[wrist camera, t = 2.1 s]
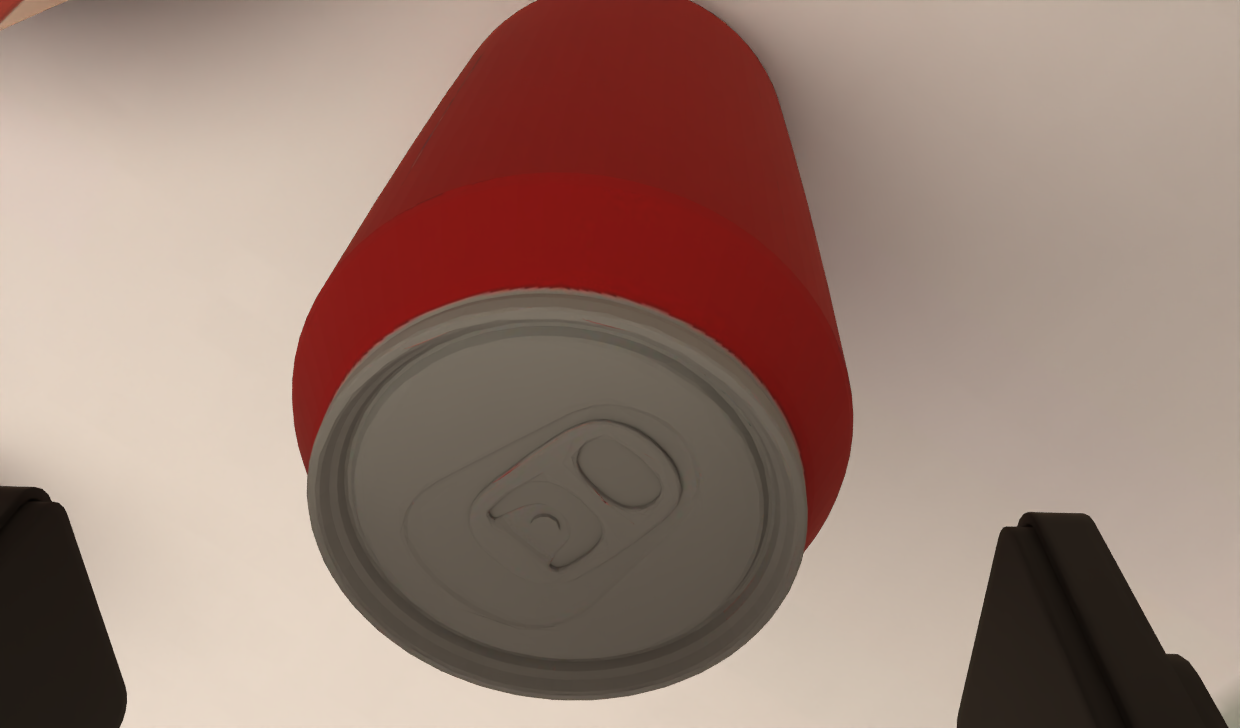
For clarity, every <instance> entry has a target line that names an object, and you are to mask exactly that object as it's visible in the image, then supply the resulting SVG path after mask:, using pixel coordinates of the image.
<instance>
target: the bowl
mask: <svg viewBox="0 0 1240 728" xmlns="http://www.w3.org/2000/svg"><path fill="white" fill-rule="evenodd" d="M65 1H68V0H0V30H3V29H5V28H7V27H9V26H12V25H14V24H16V23H18V22H21V21H23V20H25V19H27V18H30V17H32V16H34V15H36V14H39V13H41V12H43V11H45V10H48V9H50V8H52V7H54V6H57V5H59V4H61V3H63V2H65Z"/></svg>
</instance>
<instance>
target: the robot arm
mask: <svg viewBox="0 0 1240 728" xmlns="http://www.w3.org/2000/svg"><path fill="white" fill-rule="evenodd" d="M126 704H127V692H126V687H125V684H124V681H123V678H122V675H121V672H120V669H119V666H118V663H117V660H116V657H115V654H114V651H113V648H112V645H111V642H110V639H109V636H108V633H107V631H106V628H105V625H104V622H103V619H102V616H101V613H100V610H99V607H98V604H97V601H96V598H95V595H94V592H93V589H92V586H91V583H90V580H89V577H88V574H87V571H86V568H85V565H84V562H83V559H82V556H81V554H80V551H79V548H78V545H77V542H76V539H75V536H74V533H73V530H72V527H71V524H70V521H69V518H68V515H67V513H66V511H65V509H64V507H63V506H62V505H61V504H60V503H56V502H52V501H51V499H50V497H49V495H48V494H47V493H46V492H45V491H44V490H43V489H40V488H36V487H12V486H0V728H120V725H121V723H122V721H123V718H124V715H125V711H126ZM957 728H1228V726H1227V724H1226V722H1225V721H1224V719H1223V717H1222V715H1221V714H1220V712H1219V710H1218V708H1217V707H1216V705H1215V703H1214V701H1213V699H1212V698H1211V696H1210V694H1209V692H1208V691H1207V689H1206V687H1205V685H1204V684H1203V682H1202V680H1201V678H1200V677H1199V675H1198V674H1197V672H1196V671H1195V669H1194V668H1193V667H1192V665H1191V664H1190V663H1189V661H1187V660H1186V659H1184V658H1183V657H1181V656H1180V655H1178V654H1166V653H1165V651H1164V650H1163V648H1162V646H1161V644H1160V642H1159V640H1158V638H1157V637H1156V635H1155V633H1154V631H1153V629H1152V627H1151V626H1150V624H1149V622H1148V620H1147V618H1146V616H1145V615H1144V613H1143V611H1142V609H1141V607H1140V605H1139V604H1138V602H1137V600H1136V598H1135V596H1134V594H1133V593H1132V591H1131V589H1130V587H1129V585H1128V583H1127V581H1126V580H1125V578H1124V576H1123V574H1122V572H1121V570H1120V569H1119V567H1118V565H1117V563H1116V561H1115V559H1114V558H1113V556H1112V554H1111V552H1110V550H1109V548H1108V547H1107V545H1106V543H1105V541H1104V539H1103V537H1102V536H1101V534H1100V532H1099V530H1098V528H1097V526H1096V525H1095V523H1094V522H1093V520H1092V519H1091V517H1090V516H1088V515H1086V514H1083V513H1043V512H1027V513H1024V514H1023V516H1022V517H1021V518H1020V520H1019V523H1018V526H1017V527H1004V528H1003V529H1002V530H1001V532H1000V535H999V538H998V542H997V546H996V551H995V555H994V559H993V564H992V568H991V572H990V577H989V581H988V586H987V590H986V594H985V599H984V603H983V607H982V612H981V616H980V620H979V625H978V629H977V634H976V638H975V642H974V647H973V651H972V655H971V660H970V664H969V669H968V673H967V677H966V682H965V686H964V690H963V695H962V699H961V703H960V708H959V712H958V718H957Z"/></svg>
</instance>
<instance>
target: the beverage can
mask: <svg viewBox="0 0 1240 728" xmlns="http://www.w3.org/2000/svg"><path fill="white" fill-rule="evenodd" d="M292 404H293V416H294V427H295V432H296V437H297V442H298V447H299V450H300V453H301V457H302V460H303V463H304V466H305V469H306V472H307V475H308V476H307V500H308V509H309V515H310V521H311V526H312V530H313V533H314V536H315V539H316V542H317V545H318V548H319V550H320V553H321V555H322V558H323V560H324V562H325V564H326V566H327V568H328V569H329V571H330V573H331V575H332V577H333V578H334V580H335V581H336V583H337V584H338V586H339V587H340V589H341V590H342V592H343V593H344V594H345V596H346V597H347V598H348V599H349V601H350V602H351V603H352V605H353V606H354V607H355V608H356V609H357V610H358V611H359V612H360V613H361V614H362V615H363V616H364V617H365V618H366V619H367V620H368V621H369V622H370V623H371V624H372V625H373V626H374V627H375V628H376V629H377V630H378V631H380V632H381V633H382V634H383V635H385V636H386V637H387V638H389V639H390V640H391V641H393V642H394V643H395V644H397V645H398V646H400V647H401V648H402V649H404V650H405V651H406V652H408V653H410V654H411V655H413V656H415V657H417V658H418V659H420V660H422V661H424V662H425V663H427V664H429V665H431V666H433V667H435V668H437V669H439V670H441V671H443V672H445V673H447V674H450V675H452V676H455V677H457V678H460V679H462V680H465V681H468V682H470V683H473V684H476V685H479V686H483V687H486V688H490V689H493V690H497V691H502V692H506V693H510V694H514V695H520V696H527V697H534V698H542V699H551V700H599V699H609V698H617V697H625V696H631V695H635V694H640V693H644V692H648V691H652V690H656V689H660V688H664V687H667V686H669V685H672V684H675V683H678V682H680V681H683V680H685V679H688V678H690V677H692V676H695V675H697V674H699V673H702V672H703V671H705V670H707V669H709V668H711V667H712V666H714V665H716V664H718V663H719V662H721V661H722V660H724V659H726V658H727V657H729V656H730V655H732V654H733V653H734V652H736V651H737V650H738V649H739V648H741V647H742V646H743V645H745V644H746V643H747V642H748V641H749V640H750V639H751V638H752V637H753V636H755V635H756V634H757V633H758V632H759V631H760V630H761V629H762V628H763V626H764V625H765V624H766V623H767V622H768V621H769V620H770V619H771V617H772V616H773V615H774V613H775V612H776V611H777V609H778V608H779V606H780V605H781V603H782V602H783V600H784V599H785V597H786V595H787V594H788V592H789V590H790V588H791V586H792V584H793V582H794V579H795V577H796V575H797V572H798V569H799V567H800V564H801V561H802V557H803V553H804V552H805V550H806V549H807V548H808V546H809V545H810V544H811V542H812V541H813V539H814V538H815V537H816V535H817V534H818V532H819V531H820V529H821V527H822V526H823V524H824V522H825V521H826V519H827V517H828V515H829V513H830V511H831V509H832V507H833V505H834V503H835V501H836V498H837V496H838V493H839V490H840V487H841V485H842V482H843V479H844V476H845V473H846V469H847V465H848V461H849V457H850V451H851V444H852V437H853V405H852V393H851V388H850V382H849V377H848V372H847V367H846V363H845V359H844V354H843V350H842V345H841V341H840V337H839V332H838V328H837V323H836V319H835V315H834V310H833V306H832V302H831V297H830V293H829V288H828V284H827V280H826V276H825V272H824V268H823V264H822V260H821V256H820V252H819V248H818V244H817V240H816V236H815V232H814V227H813V223H812V219H811V215H810V211H809V207H808V203H807V200H806V196H805V192H804V189H803V185H802V181H801V178H800V174H799V170H798V167H797V163H796V159H795V155H794V152H793V148H792V145H791V141H790V138H789V134H788V131H787V128H786V124H785V121H784V118H783V114H782V111H781V107H780V104H779V101H778V97H777V95H776V92H775V90H774V87H773V85H772V83H771V81H770V79H769V77H768V75H767V73H766V71H765V69H764V68H763V66H762V65H761V63H760V61H759V60H758V58H757V57H756V55H755V54H754V53H753V52H752V50H751V49H750V48H749V46H748V45H747V44H746V43H745V42H744V41H743V40H742V39H741V37H740V36H739V35H738V34H737V33H736V32H735V31H733V30H732V29H731V28H730V27H729V26H728V25H727V24H726V23H724V22H723V21H722V20H720V19H719V18H718V17H716V16H715V15H714V14H712V13H711V12H709V11H707V10H706V9H704V8H703V7H701V6H699V5H697V4H695V3H693V2H691V1H689V0H537V1H535V2H533V3H531V4H529V5H528V6H526V7H524V8H523V9H521V10H519V11H518V12H516V13H515V14H514V15H512V16H511V17H510V18H508V19H507V20H505V21H504V22H503V23H502V24H501V25H500V26H499V27H498V28H496V29H495V30H494V31H493V32H492V33H491V34H490V35H489V37H488V38H487V39H486V40H485V41H484V42H483V43H482V45H481V46H480V47H479V48H478V50H477V51H476V52H475V54H474V55H473V57H472V58H471V59H470V61H469V62H468V64H467V65H466V66H465V68H464V69H463V71H462V72H461V73H460V75H459V76H458V78H457V79H456V81H455V82H454V83H453V85H452V86H451V88H450V89H449V90H448V92H447V93H446V95H445V96H444V98H443V99H442V101H441V102H440V104H439V105H438V107H437V108H436V110H435V111H434V113H433V114H432V116H431V117H430V119H429V120H428V122H427V123H426V125H425V126H424V128H423V129H422V131H421V132H420V134H419V135H418V137H417V138H416V140H415V141H414V143H413V144H412V146H411V147H410V149H409V150H408V152H407V154H406V155H405V157H404V158H403V160H402V161H401V163H400V164H399V166H398V168H397V169H396V171H395V172H394V174H393V175H392V177H391V178H390V180H389V182H388V183H387V185H386V186H385V188H384V189H383V191H382V193H381V194H380V196H379V197H378V199H377V200H376V202H375V203H374V205H373V207H372V208H371V210H370V212H369V213H368V215H367V216H366V218H365V220H364V221H363V223H362V224H361V226H360V228H359V229H358V231H357V233H356V234H355V236H354V237H353V239H352V241H351V242H350V244H349V246H348V247H347V249H346V250H345V252H344V254H343V255H342V257H341V259H340V260H339V262H338V263H337V265H336V267H335V268H334V270H333V272H332V273H331V275H330V276H329V278H328V280H327V281H326V283H325V285H324V286H323V288H322V289H321V291H320V293H319V294H318V296H317V298H316V299H315V301H314V304H313V306H312V308H311V310H310V312H309V314H308V316H307V318H306V321H305V324H304V327H303V330H302V333H301V335H300V338H299V343H298V347H297V351H296V356H295V362H294V370H293V378H292Z"/></svg>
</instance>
